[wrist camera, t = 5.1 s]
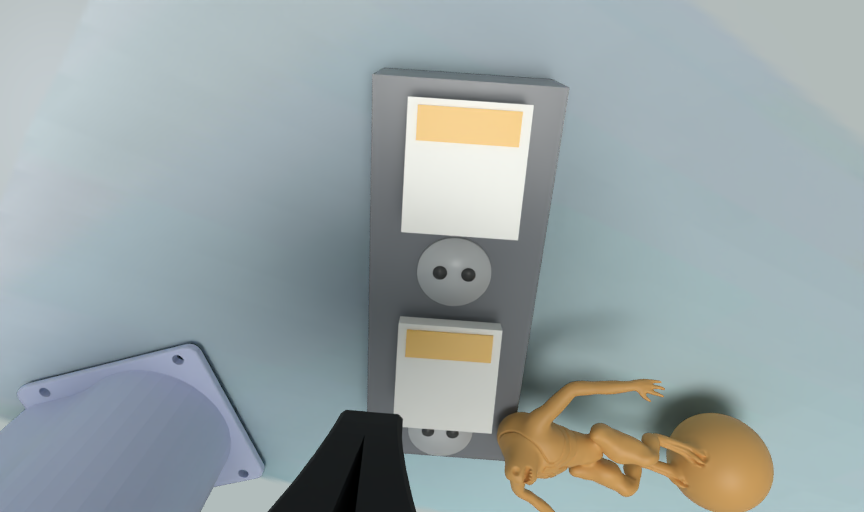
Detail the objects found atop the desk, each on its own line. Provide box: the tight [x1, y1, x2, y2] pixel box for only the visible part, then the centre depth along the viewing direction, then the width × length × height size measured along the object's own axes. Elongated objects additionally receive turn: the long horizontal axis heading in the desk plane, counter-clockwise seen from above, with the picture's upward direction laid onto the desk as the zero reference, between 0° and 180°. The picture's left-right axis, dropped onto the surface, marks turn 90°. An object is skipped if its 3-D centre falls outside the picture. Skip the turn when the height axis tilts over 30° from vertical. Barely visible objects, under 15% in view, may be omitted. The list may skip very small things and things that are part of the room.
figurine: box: [497, 379, 774, 512], centre depth 21 cm, size 8×6×12 cm
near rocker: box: [401, 96, 534, 240], centre depth 16 cm, size 4×4×1 cm
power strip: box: [367, 68, 569, 461], centre depth 20 cm, size 15×6×3 cm, turn 176°
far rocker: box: [394, 316, 502, 434], centre depth 19 cm, size 4×4×1 cm
